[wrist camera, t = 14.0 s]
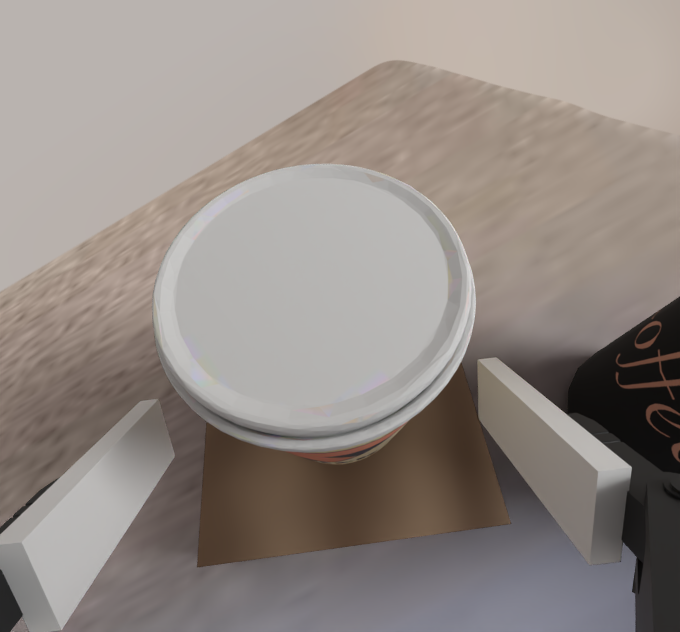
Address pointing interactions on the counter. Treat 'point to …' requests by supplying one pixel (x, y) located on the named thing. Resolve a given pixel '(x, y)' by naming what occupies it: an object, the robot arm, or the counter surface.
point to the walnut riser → (351, 488)
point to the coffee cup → (314, 310)
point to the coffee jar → (637, 388)
